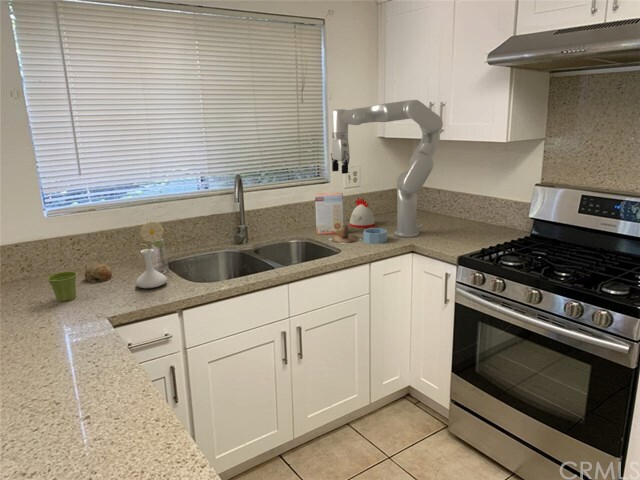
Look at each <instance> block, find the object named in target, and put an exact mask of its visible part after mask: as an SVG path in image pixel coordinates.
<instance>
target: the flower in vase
mask: <svg viewBox="0 0 640 480" xmlns="http://www.w3.org/2000/svg"><path fill="white" fill-rule="evenodd" d="M164 231H165V229H164V228H163V226H162V224H161V223H160V222H156V221H152V220H151V221H148V222H146V223H144V224H143V225H142V227H141V228H140V231H139V235H140V237H141V238H142V240H143V241H146V242H150V243H151V245H150V246H149V245H147V244H143V243H141V242H139V244H140V245H142V246H143V245H144V246H146V247H149V248H145V249H141V250H140V253H141V254H142V256H143V259H144V261H145V266H146V267H145V271H144V272H143V273H142V274H141V275H139V276H138V278H137V279H136V280H135V285H136V286H137V287H138V288H142V289H153V288H158V287H160V286H162V285H164V284H166V282H167V281H168V278H167V276H166V275H164V274H163V273H161V272H159V271H158V270H156V269H155V268H154V266H153V255H154V252H155V249H153V248H152V246H154V247H155V248H161V247H163V246H165V244H164V242H162V241H161V240H160V239H162V236H163V235H164Z"/></svg>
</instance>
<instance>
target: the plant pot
mask: <svg viewBox="0 0 640 480" xmlns="http://www.w3.org/2000/svg"><path fill="white" fill-rule="evenodd" d="M77 276H78V272H76V271H63V272H62V271H61V272H57V273H54V274H51V275H49V276H48V277H47V278H46V279H47V281H48V282H49V284H50V285H51V288H52V290H53V293H54V296H55V299H56V300H57V301H58V302H62V301H64V302H66V301H72V300H73V299H76V298H77V287H76V285H77V283H76V281H77V280H76V279H77Z"/></svg>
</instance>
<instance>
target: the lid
mask: <svg viewBox="0 0 640 480" xmlns="http://www.w3.org/2000/svg"><path fill="white" fill-rule="evenodd" d="M331 238H332V240H331V241H332V242H334V243H338V244H341V243H346V244H350V243H355V242H358V241H357V240H358V238H359V237H358V236H357V235H354V234H349V225H347V224H344V225H342V234H335V235H334V236H333V235H332V237H331Z"/></svg>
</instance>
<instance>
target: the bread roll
mask: <svg viewBox="0 0 640 480" xmlns="http://www.w3.org/2000/svg"><path fill="white" fill-rule="evenodd" d="M112 276H113V274H112V269H111V267H110V266H108V265H107V264H104V263H99V262H98V263H95V264H92V265H91V266H90V267H87V269H86V270H85V272H84V278H85V281H87V282H89V283H92V282H94V283H100V282H99V281H101V282H105V281H104V280H106V281H109V280H111V279H112V278H113V277H112ZM111 277H112V278H111ZM110 278H111V279H110ZM108 279H109V280H108Z"/></svg>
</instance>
